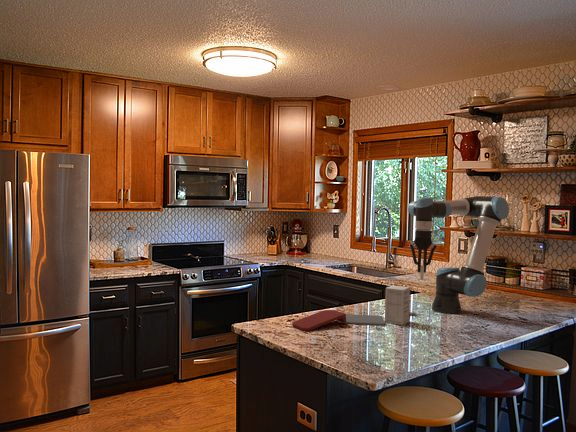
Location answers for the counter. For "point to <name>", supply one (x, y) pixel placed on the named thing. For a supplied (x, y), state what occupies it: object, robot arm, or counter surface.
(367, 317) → the mat
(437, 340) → the counter surface
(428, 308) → the counter surface
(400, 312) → the supplement box
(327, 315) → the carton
